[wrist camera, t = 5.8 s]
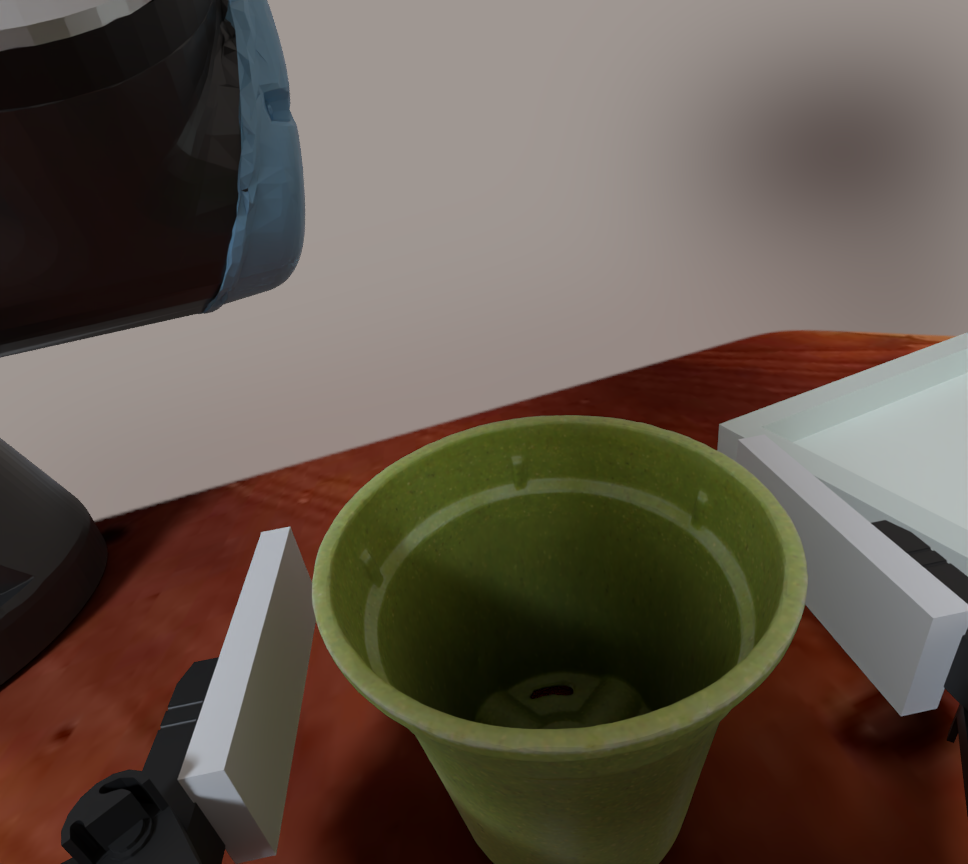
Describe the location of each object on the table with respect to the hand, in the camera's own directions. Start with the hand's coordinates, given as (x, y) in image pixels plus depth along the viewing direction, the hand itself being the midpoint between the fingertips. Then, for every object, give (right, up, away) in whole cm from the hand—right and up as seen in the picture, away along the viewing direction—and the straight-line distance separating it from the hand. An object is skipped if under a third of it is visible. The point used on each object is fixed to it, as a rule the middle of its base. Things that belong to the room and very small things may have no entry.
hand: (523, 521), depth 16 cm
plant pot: (+1, -7, 0) cm, 7 cm away
